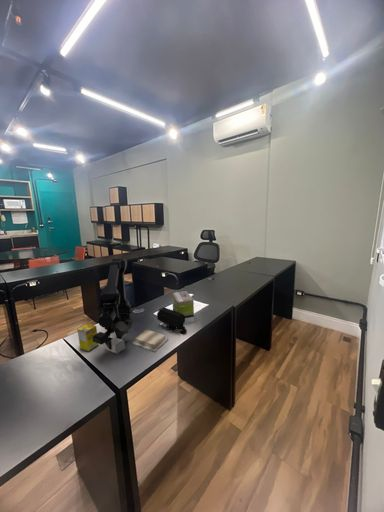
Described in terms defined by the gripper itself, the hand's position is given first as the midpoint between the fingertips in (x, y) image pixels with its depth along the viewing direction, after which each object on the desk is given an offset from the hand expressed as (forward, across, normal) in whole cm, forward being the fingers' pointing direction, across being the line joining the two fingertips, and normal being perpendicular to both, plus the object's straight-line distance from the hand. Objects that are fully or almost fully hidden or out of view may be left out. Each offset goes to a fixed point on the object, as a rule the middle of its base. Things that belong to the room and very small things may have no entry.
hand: (114, 346), depth 103 cm
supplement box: (+2, -5, +12) cm, 13 cm away
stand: (+1, +12, -12) cm, 17 cm away
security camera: (+2, +28, -15) cm, 32 cm away
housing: (+1, 0, 0) cm, 1 cm away
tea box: (+2, +41, -14) cm, 43 cm away
